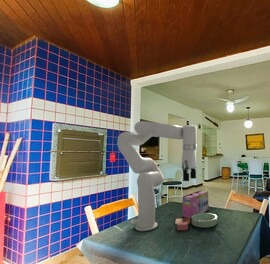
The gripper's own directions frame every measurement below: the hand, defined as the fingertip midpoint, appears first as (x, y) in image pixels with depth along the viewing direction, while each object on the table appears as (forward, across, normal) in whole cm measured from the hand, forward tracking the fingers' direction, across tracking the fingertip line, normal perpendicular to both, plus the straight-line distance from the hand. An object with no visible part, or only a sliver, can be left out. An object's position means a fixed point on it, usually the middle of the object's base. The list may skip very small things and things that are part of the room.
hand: (189, 179), depth 107 cm
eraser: (+29, -6, -7) cm, 30 cm away
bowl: (+29, -18, +2) cm, 34 cm away
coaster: (+29, -17, -12) cm, 36 cm away
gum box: (+29, -35, -10) cm, 46 cm away
